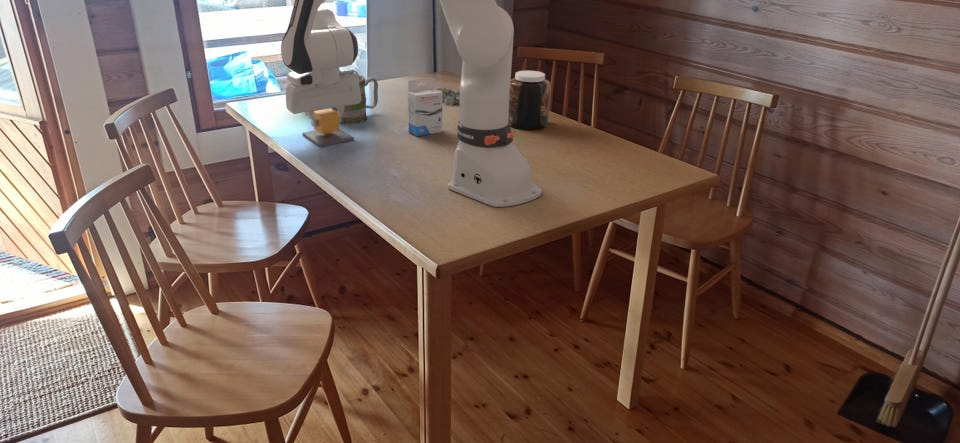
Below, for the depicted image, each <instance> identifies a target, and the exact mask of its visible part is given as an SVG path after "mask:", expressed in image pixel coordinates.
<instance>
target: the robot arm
mask: <svg viewBox="0 0 960 443" xmlns="http://www.w3.org/2000/svg"><path fill="white" fill-rule="evenodd" d="M325 1H327V0H294V4H293V8H292V11H291V14H290V19H289V23H288V26H287V29H286V32H285V33H284V36H283V38H282V41H281V46H280V54H281V59H282V62H283V64H284V65H285V67H287V68H288V69H289V70H290V71H291V72H289V73H287V74H286V79H287V81H288V82H289V83H288V84H287V85H286V90H285V106H286V107H285V108H286V109H287V111H289V112H290V113H292V114H293V115H297V114H304V113H306V116H307V117H308V118H309V119H310V121H311V123H310V124H311V126H312V127H313V128H314V127H317V126H319V120H317V119H315V118H314V117H313V115H314V111H317V110H324V109H331V108H335V107H336V108H337V109H338V111H337V113H338V117H339V124H341V123H340V122H341V116H342V114H343V112H344V110H345V109H344V106H348V105H354V104H359V103H360V101H361V91H360V86H359V75H360V74H359V72H358V71H356V70H354V69H348V70H340V68H344V67H345V68H346V67H349V66H352V65H353V63H354V62H355V61H356V60H357V58H358V55H359V44H358V39H357V35H355V34H354V33H353V31H351V30H350V29H348V28H347V27H343V26H342V24H340V23H339V22H338V21H337V19H336V17H335V14H334V11H332V10H330V9H328V8H327V9H319V8H320V6H322V4H324V3H325ZM439 3H440V5H441V9H442V12H443V15H444V17H445V20H446V24H447V26H448V28H449V31H450V33H451V36H452V39H453V41H454V44H455V46H456V49H457V53H458V55H459V57H460V58H461V59H462V65H461V75H460V84H459V91H460V103H459V120H458V122H457V127H456V133H457V135H456V136H457V139H458V143H457V146H456V149H455V150H454V154H453V162H452V172H451V174H452V175H451V180H449V182H448V184H447V189H448V190H451V191H454V192H455V193H459V194H460V195H463V196H466V197H468V198H471V199H473V200H476V201H479V202H481V203H484V204H486V205H488V206H491V207H494V208H499V207H500V208H504V207H511V206H516V205H521V204H524V203H527V202H530V201H533V200H535V199H537V198H538V197H541V195H542V194H543V191H542V188H540V187H539V186H538V185H537V184H535V183H534V182H532V169H531V167H530V163H529V160H528V159H527V158H525V157H523V155H522V154H521V152H520V151H519V149H518V147H517V146H516V145H515V143H514V138H515V137H516V135H515V134H516V133H517V132H516V131H512V127H510V123H509V122H508V117H509V94H510V80H511V79H512V76H511V75H512V65H513V62H512V61H513V47H514V33H515V28H514V23H513V20H512V17H511V15H509V13H508V12H507V11H506V10H505V9H504V8H502V7H501V6H500V5H498V4H497V1H496V0H439Z"/></svg>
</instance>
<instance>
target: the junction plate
mask: <svg viewBox="0 0 960 443" xmlns="http://www.w3.org/2000/svg"><path fill="white" fill-rule="evenodd" d="M302 136H303V137H304V138H306V139H307V140H309V141H311V142H312V143H313V144H315V145H316V146H318V147H319V148H320V147H325V146H331V145H335V144H340V143H342V144H343V143H345V142H351V141H355V137H354V136H353V135H351V134H349V133H347V132H346V131H344V130H342V129H341V128H339V131H336V132H331V133H325V134H321V133H320V132H318V131H317V130H315V129H314V130H309V131H304V132H302Z"/></svg>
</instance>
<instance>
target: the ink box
mask: <svg viewBox="0 0 960 443" xmlns="http://www.w3.org/2000/svg"><path fill="white" fill-rule="evenodd" d="M407 82H408V84H407V85H408V86H407V87H408V88H407V89H408V91H407V110H408V111H407V112H408V113H407V116H408V118H407V120H408V133H410V134H412V135H414V137H415V136H416V137H419V136H420V137H421V136H426V135H427V136H428V135H432V134H433V135H434V134H438V133H439V134H440V133H442V132H443V102H442V91H440V90H437V89H438V88H435V78H434V77H425V78H417V79H410V80H408V81H407ZM420 83H425V84H420ZM418 84H419V85H418Z"/></svg>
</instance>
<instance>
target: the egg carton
mask: <svg viewBox="0 0 960 443" xmlns="http://www.w3.org/2000/svg"><path fill="white" fill-rule="evenodd" d="M436 89H437V90H440V91H442V103H444V105H450V106H453V105H455V104H460V90H455V89H451V88H450V87H448V88H447V89H446V87H443V88H442V87H440V88H439V87H438V88H436Z"/></svg>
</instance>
